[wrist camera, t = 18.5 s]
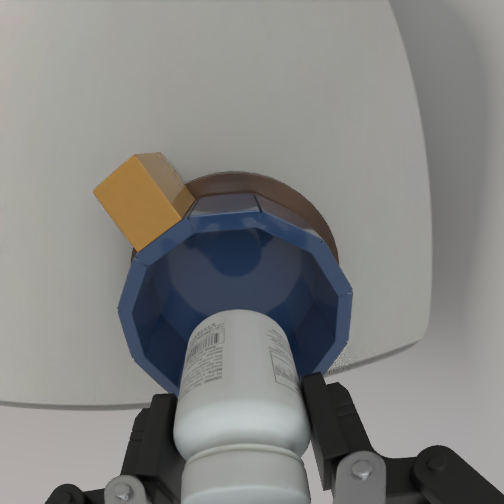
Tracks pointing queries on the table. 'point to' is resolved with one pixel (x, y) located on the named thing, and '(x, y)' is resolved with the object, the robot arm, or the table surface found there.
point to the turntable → (266, 189)
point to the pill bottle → (241, 414)
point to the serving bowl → (219, 269)
